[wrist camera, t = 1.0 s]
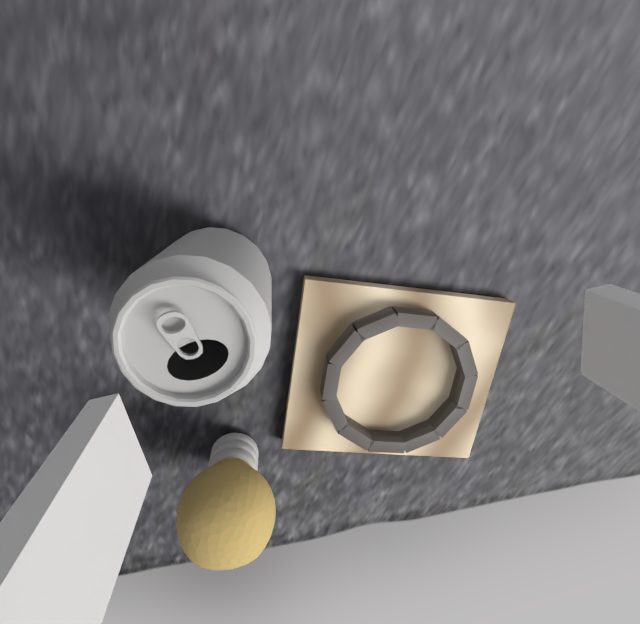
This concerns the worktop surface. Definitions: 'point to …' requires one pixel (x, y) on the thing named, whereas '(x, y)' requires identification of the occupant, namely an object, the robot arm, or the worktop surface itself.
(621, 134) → the worktop surface
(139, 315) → the can
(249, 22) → the worktop surface
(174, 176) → the worktop surface
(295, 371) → the board
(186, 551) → the light bulb
